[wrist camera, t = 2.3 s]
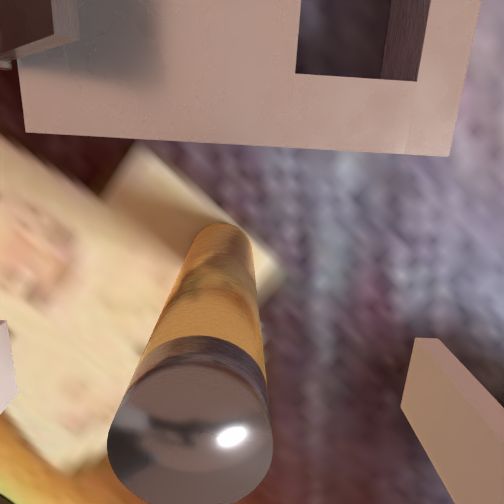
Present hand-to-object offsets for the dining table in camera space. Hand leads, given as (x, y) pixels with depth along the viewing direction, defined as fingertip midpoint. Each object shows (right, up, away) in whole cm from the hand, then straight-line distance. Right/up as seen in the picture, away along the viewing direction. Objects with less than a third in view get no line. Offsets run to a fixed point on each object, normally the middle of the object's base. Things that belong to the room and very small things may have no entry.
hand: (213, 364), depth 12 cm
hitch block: (+1, +16, +8) cm, 18 cm away
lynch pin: (-1, +4, +12) cm, 13 cm away
